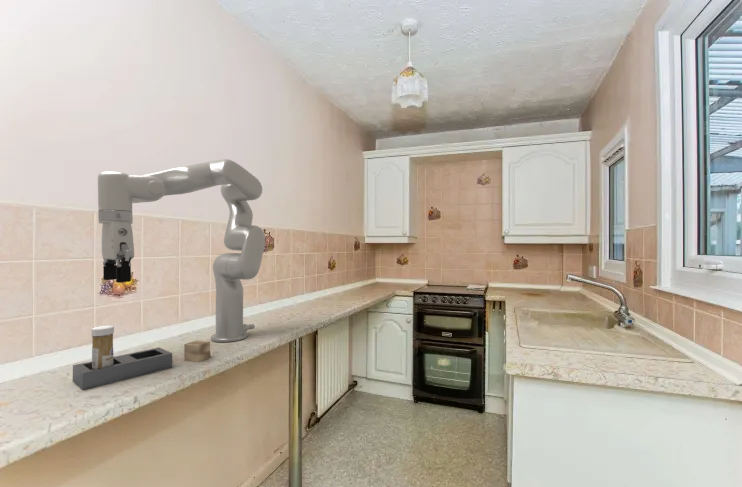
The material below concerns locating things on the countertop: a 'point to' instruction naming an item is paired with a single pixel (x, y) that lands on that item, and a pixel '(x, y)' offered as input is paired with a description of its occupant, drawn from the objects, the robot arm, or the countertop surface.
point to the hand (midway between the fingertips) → (117, 280)
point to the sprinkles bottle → (102, 346)
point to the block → (197, 351)
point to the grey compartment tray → (122, 368)
